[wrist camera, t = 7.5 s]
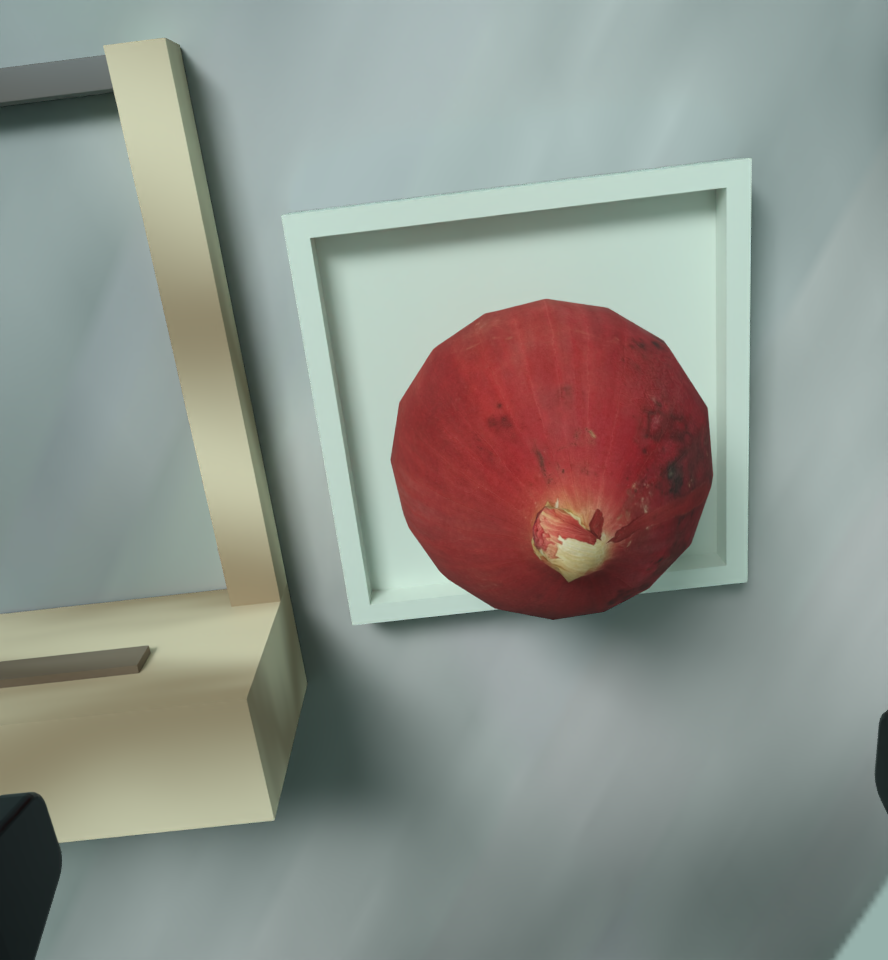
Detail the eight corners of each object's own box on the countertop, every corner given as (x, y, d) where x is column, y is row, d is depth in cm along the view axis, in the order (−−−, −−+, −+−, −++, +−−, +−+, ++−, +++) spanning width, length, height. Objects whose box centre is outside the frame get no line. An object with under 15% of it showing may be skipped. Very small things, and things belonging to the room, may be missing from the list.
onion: (640, 252, 18) (786, 308, 11) (669, 497, 20) (810, 692, 12) (375, 308, 18) (334, 400, 11) (429, 543, 20) (426, 759, 13)
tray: (730, 560, 21) (747, 582, 20) (356, 601, 21) (352, 625, 20) (731, 158, 18) (751, 157, 17) (290, 212, 18) (281, 215, 17)
